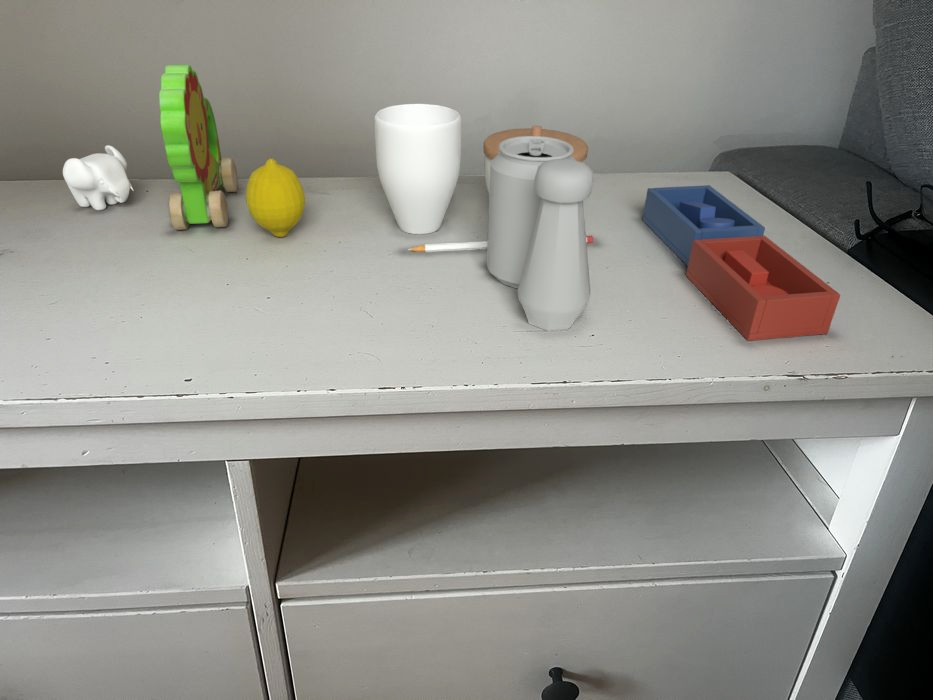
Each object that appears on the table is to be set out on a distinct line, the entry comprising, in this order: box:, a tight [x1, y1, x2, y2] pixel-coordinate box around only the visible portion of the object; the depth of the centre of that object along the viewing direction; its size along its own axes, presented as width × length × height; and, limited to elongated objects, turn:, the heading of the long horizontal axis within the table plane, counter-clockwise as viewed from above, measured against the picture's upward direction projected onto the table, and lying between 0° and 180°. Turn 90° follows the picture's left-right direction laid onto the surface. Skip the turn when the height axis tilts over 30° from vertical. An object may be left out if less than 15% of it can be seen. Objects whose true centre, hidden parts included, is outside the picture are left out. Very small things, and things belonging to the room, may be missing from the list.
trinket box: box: [482, 125, 589, 193], centre depth 76 cm, size 11×11×9 cm
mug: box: [373, 103, 462, 235], centre depth 73 cm, size 12×8×11 cm
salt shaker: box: [517, 159, 595, 332], centre depth 56 cm, size 6×6×13 cm
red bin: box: [685, 235, 841, 341], centre depth 61 cm, size 7×11×4 cm, turn 10°
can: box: [486, 136, 576, 289], centre depth 63 cm, size 8×8×12 cm
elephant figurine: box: [62, 145, 135, 211], centre depth 76 cm, size 7×8×6 cm
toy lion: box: [158, 64, 239, 231], centre depth 73 cm, size 16×5×15 cm, turn 9°
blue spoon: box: [679, 201, 735, 229], centre depth 71 cm, size 8×3×2 cm, turn 10°
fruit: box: [245, 156, 306, 238], centre depth 70 cm, size 6×6×8 cm
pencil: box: [407, 235, 594, 253], centre depth 71 cm, size 1×19×1 cm, turn 99°
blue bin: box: [642, 184, 766, 267], centre depth 72 cm, size 7×11×4 cm, turn 10°
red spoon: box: [724, 250, 788, 297], centre depth 62 cm, size 8×3×2 cm, turn 10°
